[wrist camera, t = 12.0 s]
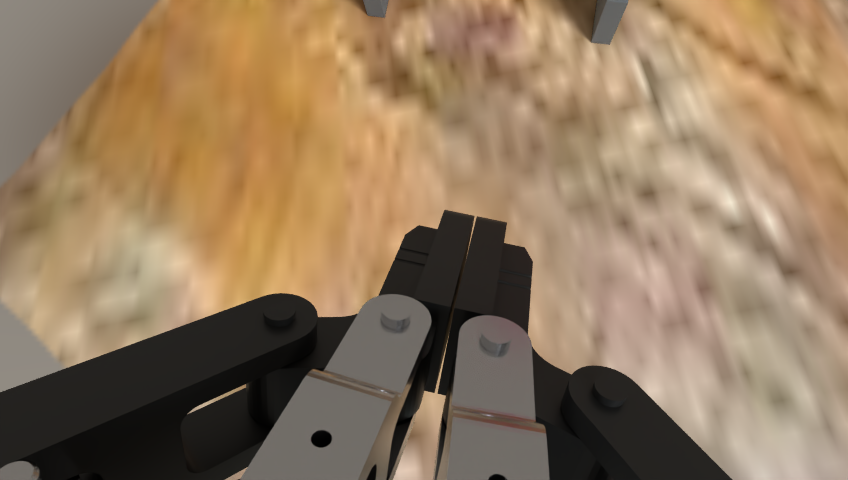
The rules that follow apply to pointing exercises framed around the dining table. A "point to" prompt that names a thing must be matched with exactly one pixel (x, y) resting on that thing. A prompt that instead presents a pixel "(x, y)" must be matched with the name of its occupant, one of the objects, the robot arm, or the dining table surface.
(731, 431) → the dining table surface
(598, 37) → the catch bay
